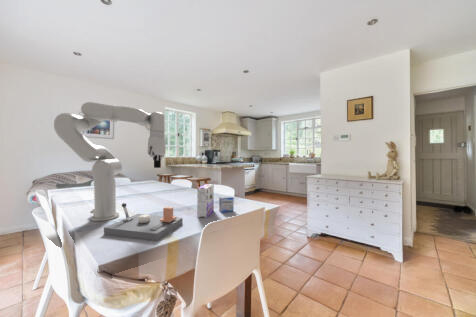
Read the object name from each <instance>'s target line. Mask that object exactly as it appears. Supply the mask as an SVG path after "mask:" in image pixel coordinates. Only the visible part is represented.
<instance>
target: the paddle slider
mask: <svg viewBox="0 0 476 317" xmlns="http://www.w3.org/2000/svg"><path fill="white" fill-rule="evenodd" d="M162 212H163V214H162V216H163V218H162V219H160V222H171V221H173V220H174V219H176V218H177V216H176V215H175V216H174V207H173V206H164V207H163V211H162Z"/></svg>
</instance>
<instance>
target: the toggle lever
mask: <svg viewBox="0 0 476 317" xmlns="http://www.w3.org/2000/svg"><path fill="white" fill-rule="evenodd" d="M121 208H123V211H124V215H125V217H126V218H129V217H130V215H129V212H128V209H127V203H126V202H123V203H122V204H121ZM126 218H125V219H126Z"/></svg>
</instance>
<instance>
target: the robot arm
mask: <svg viewBox="0 0 476 317" xmlns="http://www.w3.org/2000/svg"><path fill="white" fill-rule="evenodd" d="M80 111H81V113H82V115H78V114H73V113H69V112H62V113H60V114H58V115H56V116H55V119H54V121H53V128H54V132H55V133H56V134H57V136H58V137H59V139H60V140H62V141H63V142H64V143H65V144H66V145H67V146H68V147H69V148H70V149H71V150H72V151H73V152H74V153H75V154H76V155H77V156H78V157H79V158H80V159H82V160H83V161H84V162H86V163H93V165H92V167H91V172H92V179H93V189H94V190H93V192H94V193H93V194H94V196H93V197H94V198H93V199H94V201H93V203H94V204H93V205H94V206H93V207H94V208H92V210H91V211H90V214H93V215H92V216H90V220H91V221H92V222H105V221H110V220H114V219H116V218H119V216H120V213H119V212H117V208H116V207H117V206H116V204H117V203H116V202H117V198H116V193H117V192H116V191H117V190H116V189H117V188H116V179H115V176H116V175H118V174H120V173H121V172H122V170H123V164H122V162H121V161H120V160H119V159H118V158H117V157H116V156H115V155H114V154H113V153H112V152H111V151H110V150H109V149H108V148H107V147H104V145H98V144H94V143H92V142H91V141H90V140H89V139H88V138H87V137H86V136H85V135H84V134H82V133H84V132H87V131H89V130H91V129H93V128H95V127H96V126H98V125H100V124H101V123H103V122H104V121H107V122H114V123H116V122H127V123H133V124H138V125H140V126H142V127H149V137H148V139H147V140H148V142H147V155H148V156H149V157H150V158H152V161H153V167H154V169H155V168H156V169H158V168H159V169H160V168H161V167H162V158H164V157H165V155H166V141H165V114H164V113H162V112H160V111H152V112H150V113H148V112H146V111H144V110H142V109H139V108H135V107H129V106H122V105H121V106H120V105H111V104H106V103H99V102H93V101H86V102H84V103H82V105H81V107H80ZM81 132H82V133H81Z"/></svg>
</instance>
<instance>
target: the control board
mask: <svg viewBox="0 0 476 317" xmlns="http://www.w3.org/2000/svg"><path fill="white" fill-rule="evenodd" d="M140 215H147V214H145V213H136V214H133V215H131V216H129V218H123V219H122V220H119V221H117V222H114V223H112V224H110V225H107V226H104V227H103V235H104V236H105V235H106V236H114V237H121V238H127V239H128V238H130V239H136V240H143V241H144V240H146V241H152V242H153V241H154V242H158V241H160V240H161V239H162V238H164V237H165V236H167V235H168V234H169V233H171V232H172V231H174V230H176V229H177V228H179V227H180V226H181V225H183V217H177V216H176V217H177V218H176V219H174V220H173V221H171V222H160V219H162V218H163V215H155V214H149V215H150V221H149V222H147V223H138V216H140Z"/></svg>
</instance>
